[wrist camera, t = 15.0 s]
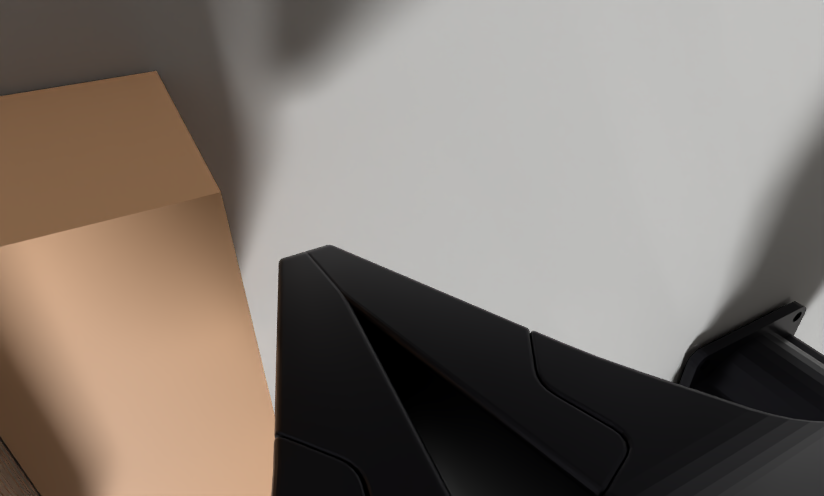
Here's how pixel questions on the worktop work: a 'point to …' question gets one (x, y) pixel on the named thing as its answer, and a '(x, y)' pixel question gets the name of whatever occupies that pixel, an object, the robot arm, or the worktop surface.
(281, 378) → the robot arm
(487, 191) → the worktop surface
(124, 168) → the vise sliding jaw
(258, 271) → the worktop surface
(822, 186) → the worktop surface
